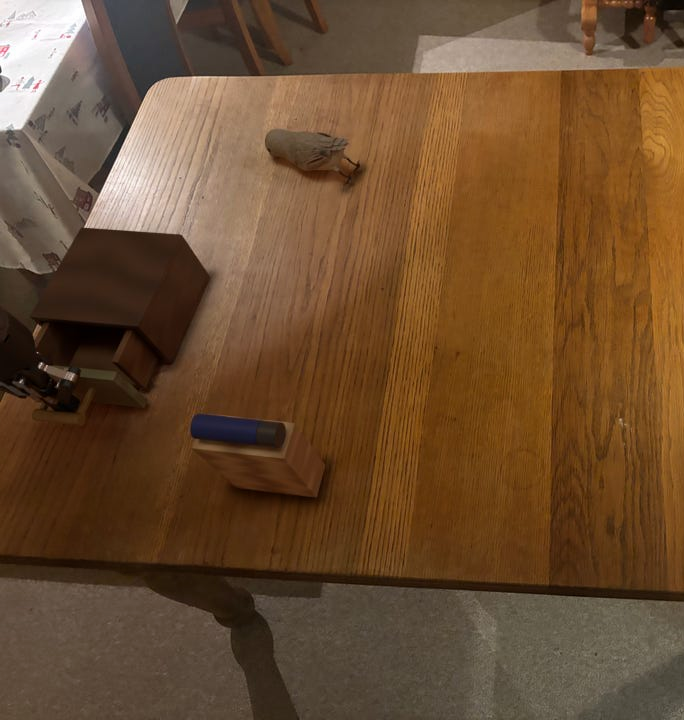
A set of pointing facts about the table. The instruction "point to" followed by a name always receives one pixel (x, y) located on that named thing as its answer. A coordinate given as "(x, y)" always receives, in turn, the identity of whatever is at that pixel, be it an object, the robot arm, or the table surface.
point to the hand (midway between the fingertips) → (72, 408)
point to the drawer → (97, 365)
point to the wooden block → (267, 463)
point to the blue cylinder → (238, 430)
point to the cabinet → (127, 286)
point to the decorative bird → (309, 149)
